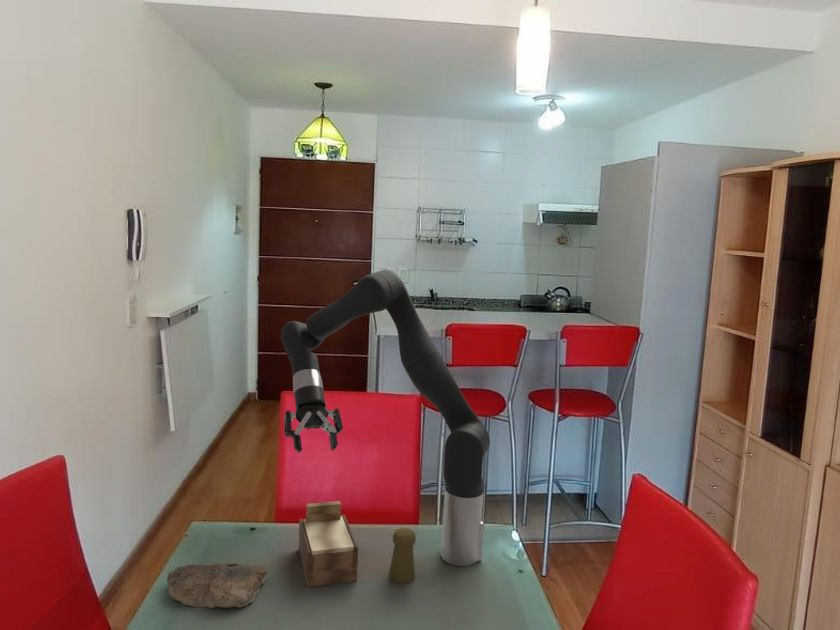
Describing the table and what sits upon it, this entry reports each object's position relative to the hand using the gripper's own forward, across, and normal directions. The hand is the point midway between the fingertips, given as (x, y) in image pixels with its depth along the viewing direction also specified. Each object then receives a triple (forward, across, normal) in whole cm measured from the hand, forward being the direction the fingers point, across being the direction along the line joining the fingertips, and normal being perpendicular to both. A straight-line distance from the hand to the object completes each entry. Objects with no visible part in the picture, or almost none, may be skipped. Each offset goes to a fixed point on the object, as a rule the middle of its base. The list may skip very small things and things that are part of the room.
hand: (316, 450), depth 158 cm
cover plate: (+21, 0, +1) cm, 21 cm away
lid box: (+26, 0, +6) cm, 26 cm away
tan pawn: (+32, +15, -2) cm, 36 cm away
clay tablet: (+28, -25, +5) cm, 38 cm away
